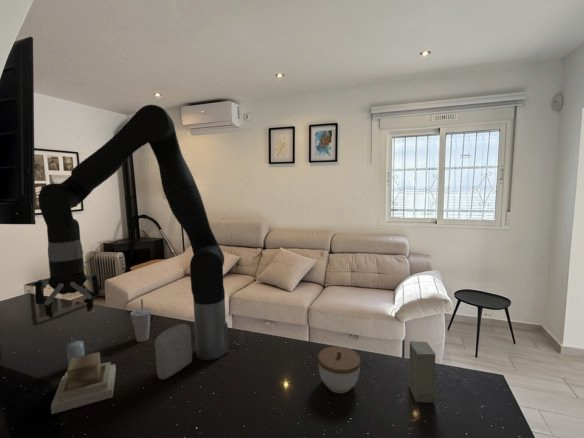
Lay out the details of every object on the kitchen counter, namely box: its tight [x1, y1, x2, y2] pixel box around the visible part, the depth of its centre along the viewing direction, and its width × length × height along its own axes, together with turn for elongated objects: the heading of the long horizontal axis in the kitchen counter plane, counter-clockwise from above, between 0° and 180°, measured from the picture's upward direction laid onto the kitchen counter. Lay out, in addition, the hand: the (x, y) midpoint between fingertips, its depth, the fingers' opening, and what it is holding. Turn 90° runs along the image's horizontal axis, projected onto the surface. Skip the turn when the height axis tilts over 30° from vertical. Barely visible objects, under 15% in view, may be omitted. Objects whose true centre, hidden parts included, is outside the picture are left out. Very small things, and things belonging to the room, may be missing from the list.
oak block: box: [66, 351, 102, 390], centre depth 76 cm, size 6×6×6 cm
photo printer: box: [154, 323, 193, 380], centre depth 84 cm, size 10×4×12 cm, turn 149°
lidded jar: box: [317, 346, 361, 394], centre depth 77 cm, size 11×11×9 cm
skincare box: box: [408, 340, 436, 404], centre depth 74 cm, size 6×4×12 cm
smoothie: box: [130, 298, 153, 343], centre depth 101 cm, size 6×6×14 cm
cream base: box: [50, 361, 117, 415], centre depth 76 cm, size 12×12×4 cm
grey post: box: [65, 340, 86, 368], centre depth 86 cm, size 4×4×7 cm
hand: (71, 313), depth 84 cm, fingers open, 8 cm apart
